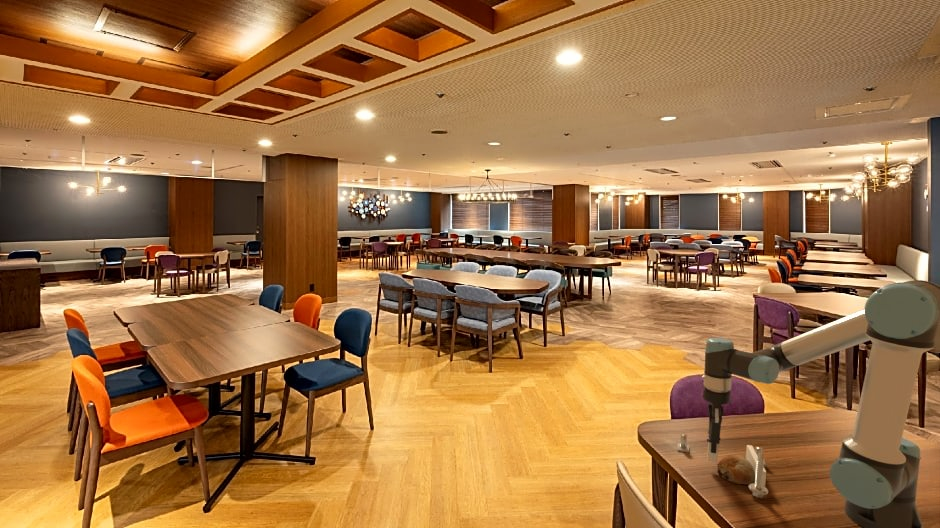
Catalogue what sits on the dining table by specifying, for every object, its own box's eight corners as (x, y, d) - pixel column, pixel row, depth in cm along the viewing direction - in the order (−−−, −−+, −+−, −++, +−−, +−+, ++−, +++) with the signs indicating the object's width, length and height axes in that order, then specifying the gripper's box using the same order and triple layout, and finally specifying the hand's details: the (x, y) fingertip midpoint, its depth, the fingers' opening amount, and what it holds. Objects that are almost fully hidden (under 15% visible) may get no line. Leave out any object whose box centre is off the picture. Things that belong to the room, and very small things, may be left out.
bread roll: (751, 498, 138) (766, 477, 136) (717, 479, 140) (731, 458, 138) (742, 480, 147) (756, 460, 146) (710, 463, 149) (723, 442, 148)
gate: (751, 459, 151) (752, 445, 151) (765, 486, 136) (766, 471, 135) (745, 458, 152) (746, 444, 151) (759, 485, 136) (760, 470, 136)
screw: (760, 502, 130) (744, 492, 135) (771, 498, 132) (755, 489, 137) (763, 457, 129) (746, 449, 133) (774, 454, 131) (758, 446, 135)
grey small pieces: (765, 467, 149) (766, 452, 148) (677, 450, 159) (678, 436, 159) (763, 460, 153) (764, 446, 152) (677, 445, 163) (678, 431, 163)
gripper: (702, 379, 152) (698, 449, 154) (704, 393, 140) (700, 468, 142) (728, 383, 149) (723, 453, 151) (732, 397, 137) (727, 473, 139)
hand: (712, 460), depth 147 cm, fingers closed
